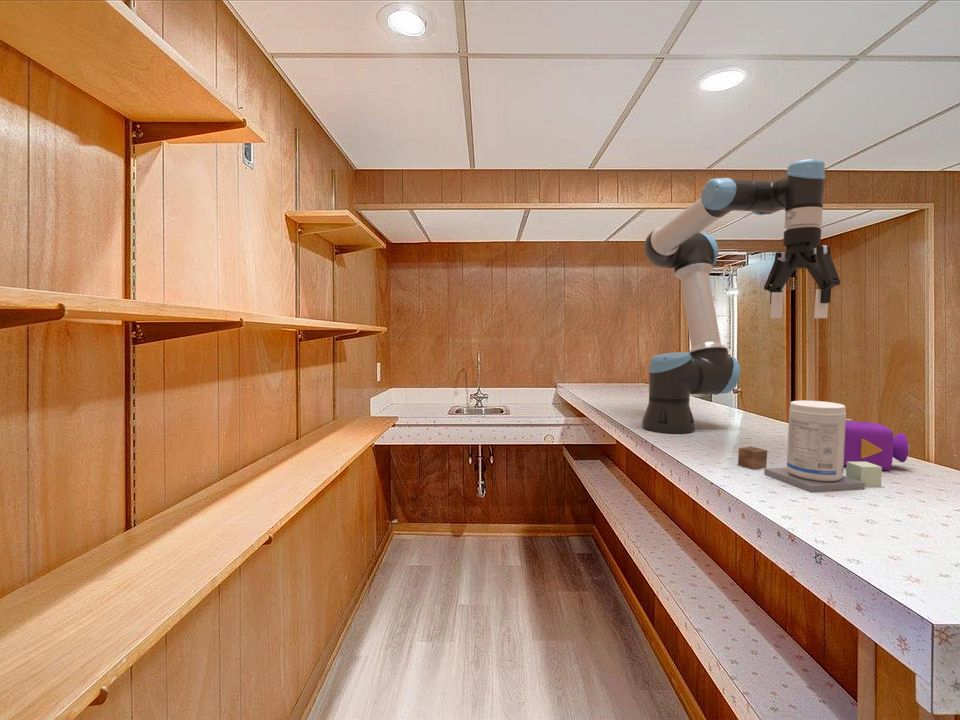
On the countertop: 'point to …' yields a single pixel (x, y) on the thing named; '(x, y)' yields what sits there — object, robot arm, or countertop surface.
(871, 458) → the toy camera
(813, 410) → the supplement tub
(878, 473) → the pale green cube
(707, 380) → the robot arm
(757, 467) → the walnut block
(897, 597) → the countertop surface
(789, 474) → the slate coaster
